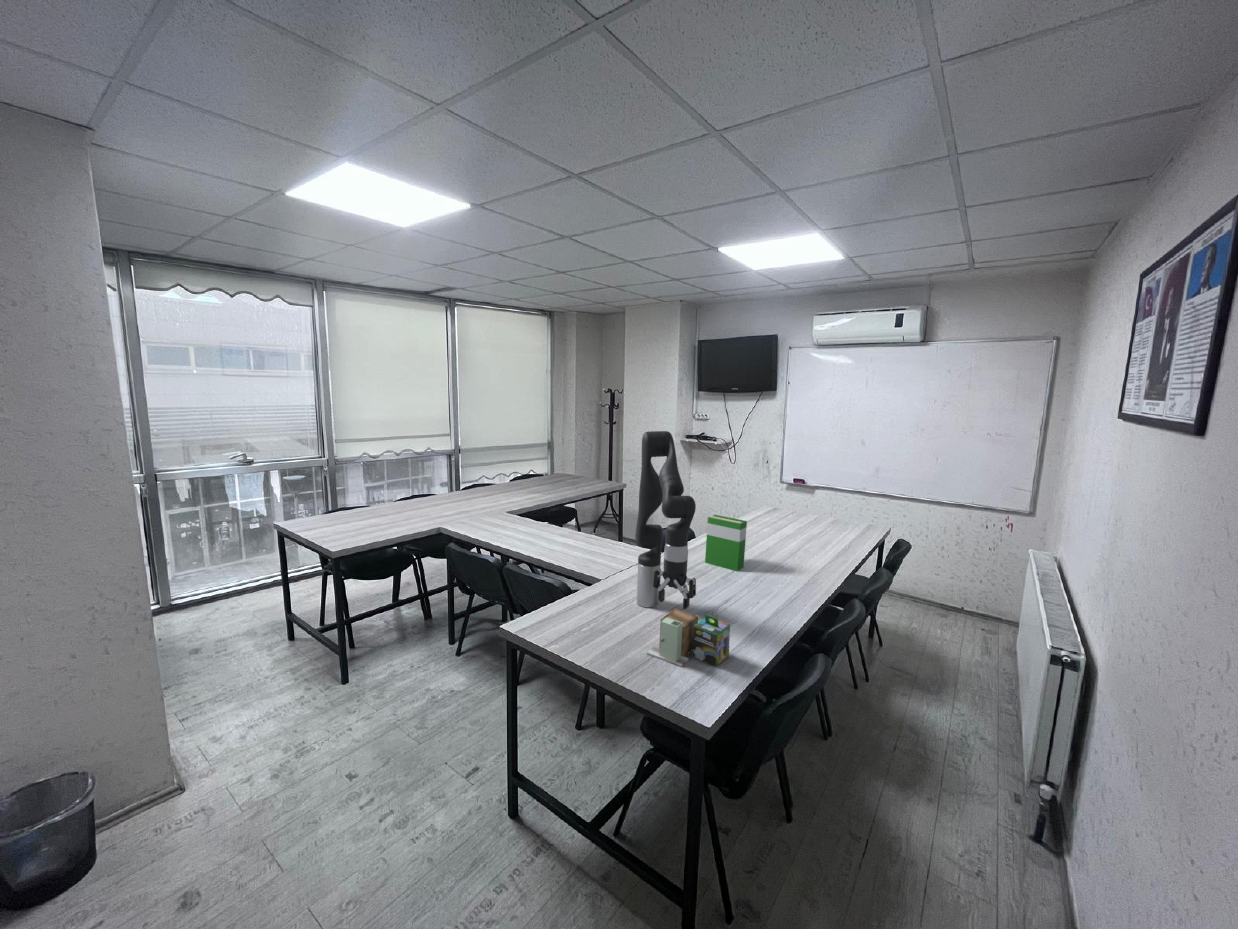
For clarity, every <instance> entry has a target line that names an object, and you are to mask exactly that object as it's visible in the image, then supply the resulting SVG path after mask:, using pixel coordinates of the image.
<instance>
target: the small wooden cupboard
mask: <svg viewBox="0 0 1238 929" xmlns="http://www.w3.org/2000/svg"><path fill="white" fill-rule="evenodd" d="M666 617H667V618H670V619H673V620H676V621H679V622H682V623H683V627H682V645H681V657H680V658H679V659H678V660H677V661H673V660H670V659H668V658H665V657H662V656H660V645H659V647H658V646H655V645H654V646H653V647H651V648H650V649H649V650H648V651H647V652H646V655H648V656H651V657H654V658H656V659H659V660H662V661H664V662H667V663H669V664H672V665H675V666H677V667H680V668H683V666H685V665H686V664H687V663H688V662H689V661H690V660H689V658H687V655H688V654H689V653H691V651H693V630H694V625H696V624H697V623H698V622H699V620H698V619H699V615H696V614H693V613H689V612H687V611H683V610H680V609H677V608H674V609H672V610H671V611H670V612H669V613H667V614H666V615H664V616H663V617H662V618H661V619H660V622H661V621H662V620H664V619H665V618H666ZM659 627H660V628H659V629H660V630H659V631H660V632H659V638H660V637H661V624H660V626H659Z"/></svg>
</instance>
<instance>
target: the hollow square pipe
mask: <svg viewBox="0 0 1238 929" xmlns="http://www.w3.org/2000/svg"><path fill="white" fill-rule="evenodd" d="M660 625H661V637H660V636H659V646H660V656H662V657H665V658H668V659H670V660H673V661H677V660H678V659H679V658H680V657H681V645H682V627H683V623H682V622H679V621H676V620H673V619H670V618H667V617H666V618H665V619H664V620H662V621H661V620H660Z"/></svg>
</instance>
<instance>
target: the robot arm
mask: <svg viewBox="0 0 1238 929" xmlns="http://www.w3.org/2000/svg"><path fill="white" fill-rule="evenodd" d="M656 457H657V458H660V457H661V458H662V457H666V460H665V462H664V463H663V465H662V466H661V468H660V471H659V474H658V472H657V471H656V469H655V468H654V466H653V462H652V458H656ZM677 460H678V459H677V451H676V446H675V440H674V437H673V435H672V433H671V432H670V431H667V430H655V431H653V430H652V431H645V432H643V435H642V438H641V471H640V482H639V490H638V511H637V512H638V514H637V521H636V526H635V535H634V536H635V537H634V539H635V544H636V546H637V547H638V548H651V549H650V550H648V551H645V552H642V553H641V554H639V555H638V558H637V580H636V581H637V582H636V583H637V584H636V604H637V605H638V606H640V607H643V608H656V607H657V606H659V604H660V603H663V602H664V601H665V599H666V598H665V597H666V590H665V589H666V587H667V586H668V587H669V588H673V589H675V590H678V591H679V593H680V594H681V595H682V596H683V600H682V609H683V610H687V609H688V608H689V606H690V599H692V598H693V599H694V597H695V596H697V581H696V579H697V578H695V577H692V578H689V577H688V576H687V573H688V561H689V560H688V559H689V546H688V545H689V531H690V528H691V525H692V521H693V519H694V516H695V513H696V510H697V509H696V506H697V505H696V500H695V499H694V497H693V496H690V495H683V494H684V492H685V487H684V484H683V481H682V478H681V476H680V472H679V467H678V461H677ZM660 506H661V513H662V515H663V516H664V517H665V518H666V519H679V521H677V522H674V523H671V524H669V525H667V527H666V529H665V542H664V543H665V545H664V550H663V570H662V568H661V561H662V548H663V547H662V546H663V537H664V534H663V533H664V531H663V527H662V526H661V524H650V523H648V524H647V522H648V521H649V519H650V518H651V517H652V515H653V514H654V513H655V512H656V511H657V510H658V509H659V508H660ZM661 577H662V578H663V579H664V581H663V582H662V583H661V579H662V578H661ZM686 583H687V584H686Z"/></svg>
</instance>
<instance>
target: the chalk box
mask: <svg viewBox="0 0 1238 929" xmlns="http://www.w3.org/2000/svg"><path fill="white" fill-rule="evenodd" d="M730 634H731V623H728V622H725V621H722V620H719V619H718V618H717V617H714V616H712V615H709V614H707V613H706V614H705V615H704V618H703V619H701V620H698V623H697V624H696V625H694V630H693V649H692V658H694V659H697V660H699V661H701V662H704V663H707V664H708V665H710V666H713V667H717V666H719V665H720V664H721V663H722V662H723V661H725V659H727V658H728V657H729V656H730V641H731V640H730V638H731V635H730Z"/></svg>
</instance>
